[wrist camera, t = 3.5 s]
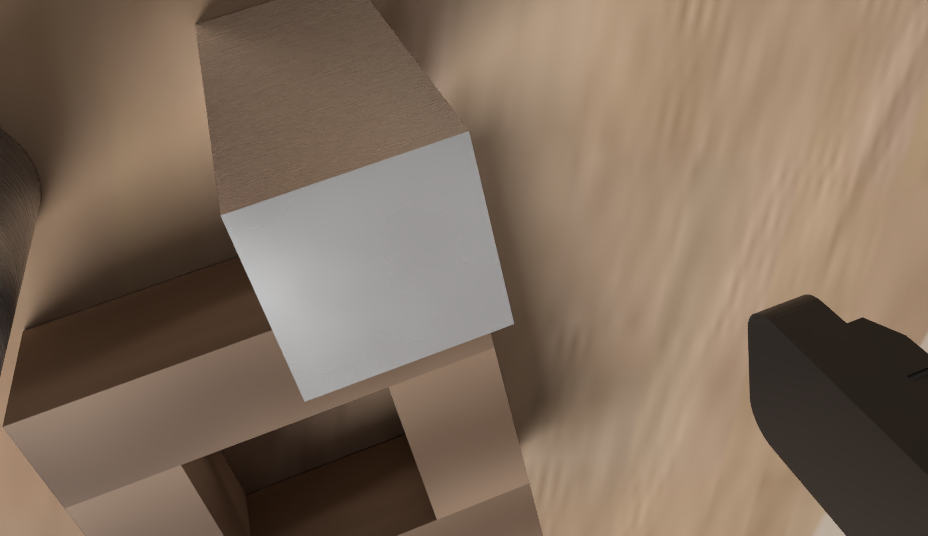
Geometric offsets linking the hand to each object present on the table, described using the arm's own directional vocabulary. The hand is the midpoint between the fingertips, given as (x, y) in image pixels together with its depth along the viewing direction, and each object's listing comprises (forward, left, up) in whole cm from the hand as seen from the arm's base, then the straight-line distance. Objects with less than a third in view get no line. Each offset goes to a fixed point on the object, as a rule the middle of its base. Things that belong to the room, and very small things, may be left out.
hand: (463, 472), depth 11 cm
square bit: (0, 0, -15) cm, 15 cm away
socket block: (+10, -4, -15) cm, 18 cm away
